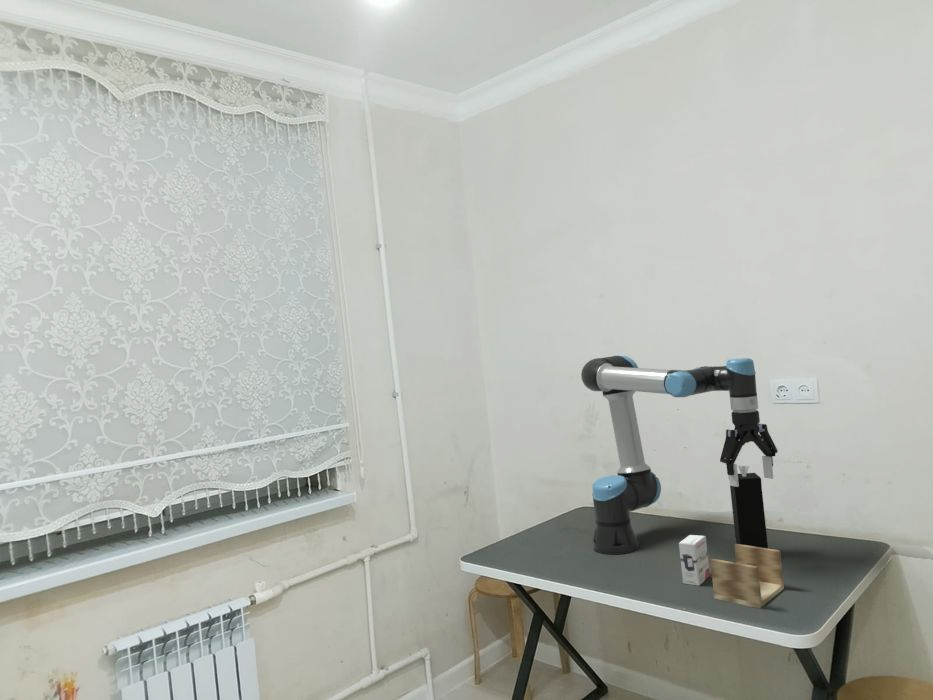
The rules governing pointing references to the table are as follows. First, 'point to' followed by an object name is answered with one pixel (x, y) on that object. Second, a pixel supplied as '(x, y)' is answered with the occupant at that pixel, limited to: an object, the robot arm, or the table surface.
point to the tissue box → (749, 510)
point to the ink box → (694, 559)
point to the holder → (748, 576)
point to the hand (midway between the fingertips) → (751, 482)
